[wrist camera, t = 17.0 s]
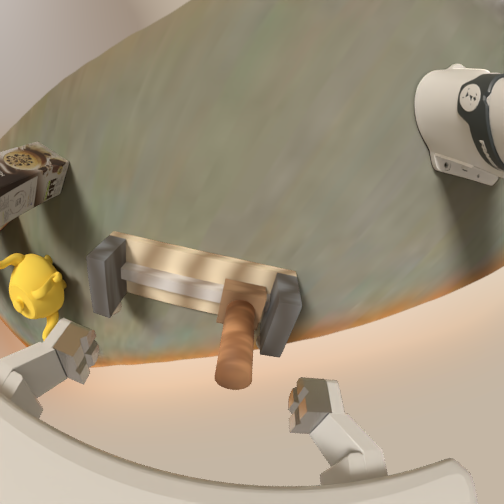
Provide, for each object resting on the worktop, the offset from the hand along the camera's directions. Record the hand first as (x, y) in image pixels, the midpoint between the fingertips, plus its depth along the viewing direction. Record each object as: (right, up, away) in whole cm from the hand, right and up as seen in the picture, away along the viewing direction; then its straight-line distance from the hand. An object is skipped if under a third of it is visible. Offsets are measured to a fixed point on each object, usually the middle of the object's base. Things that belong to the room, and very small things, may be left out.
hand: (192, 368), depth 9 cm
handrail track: (-6, 0, +33) cm, 33 cm away
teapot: (-38, 0, +34) cm, 52 cm away
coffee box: (-32, +19, +25) cm, 44 cm away
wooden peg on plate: (+1, -2, +32) cm, 32 cm away
